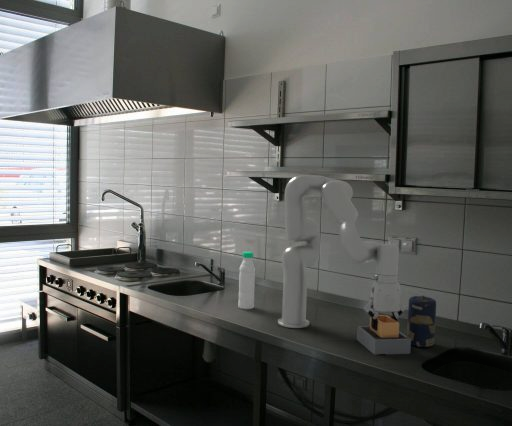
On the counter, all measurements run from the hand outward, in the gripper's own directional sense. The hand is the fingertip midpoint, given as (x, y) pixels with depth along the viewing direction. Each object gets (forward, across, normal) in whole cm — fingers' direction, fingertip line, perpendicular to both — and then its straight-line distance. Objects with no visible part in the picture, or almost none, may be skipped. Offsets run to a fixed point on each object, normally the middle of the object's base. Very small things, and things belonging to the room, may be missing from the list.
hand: (383, 328), depth 182 cm
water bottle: (+6, -40, +55) cm, 69 cm away
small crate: (+2, 0, 0) cm, 2 cm away
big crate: (+7, 0, 0) cm, 7 cm away
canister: (+7, +15, +1) cm, 16 cm away
